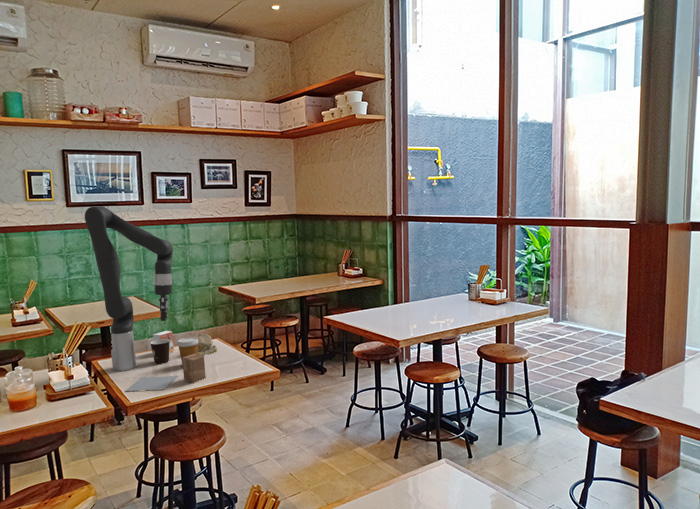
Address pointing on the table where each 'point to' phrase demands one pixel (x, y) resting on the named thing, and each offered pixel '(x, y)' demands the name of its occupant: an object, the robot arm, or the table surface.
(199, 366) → the walnut block
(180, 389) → the table surface
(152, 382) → the grey mat
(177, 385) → the table surface
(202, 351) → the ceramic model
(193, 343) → the disposable coffee cup
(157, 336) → the small box
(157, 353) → the coffee mug
